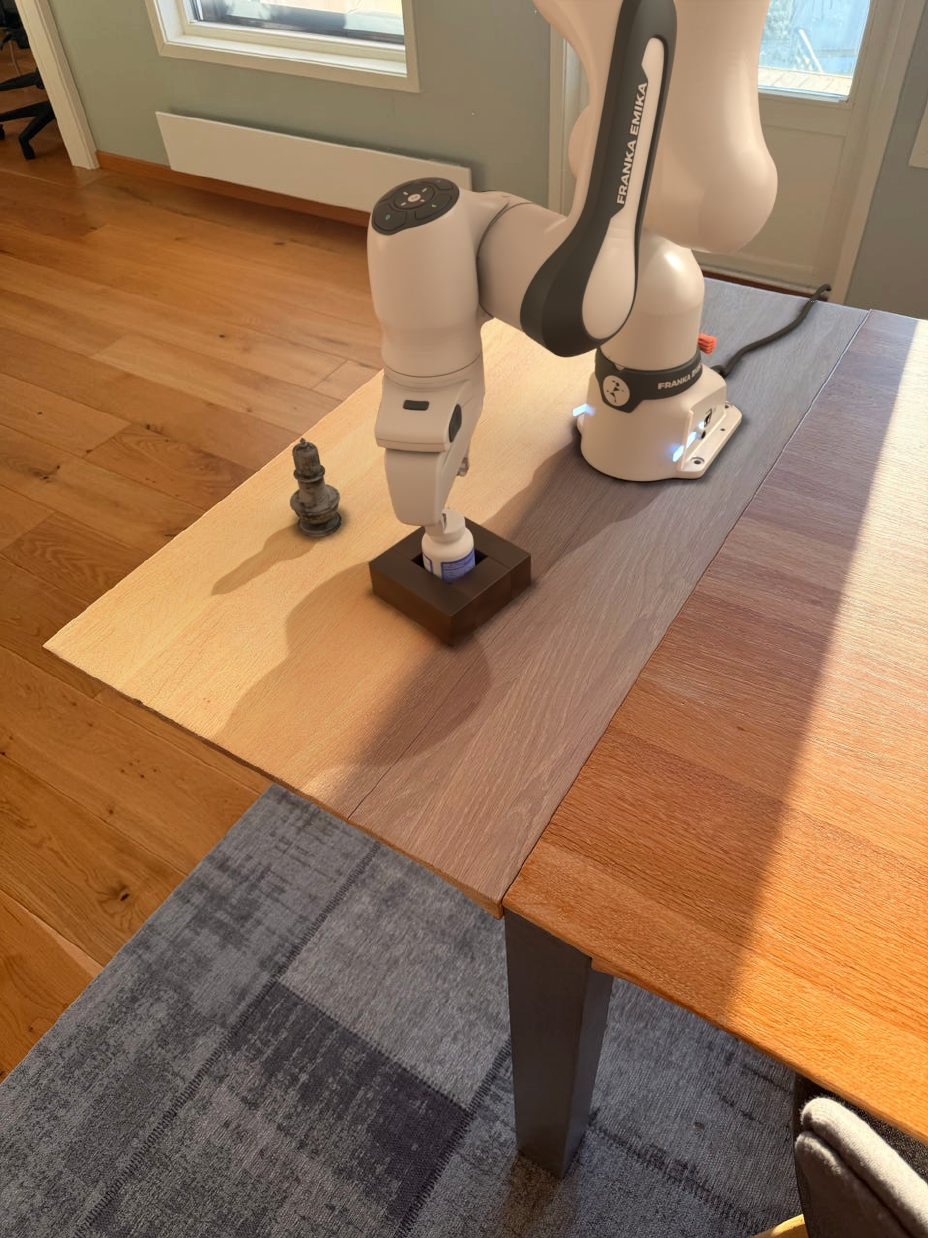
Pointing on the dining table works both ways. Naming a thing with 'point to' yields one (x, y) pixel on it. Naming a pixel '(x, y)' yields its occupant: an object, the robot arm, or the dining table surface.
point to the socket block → (463, 601)
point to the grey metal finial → (313, 494)
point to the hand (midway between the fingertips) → (448, 500)
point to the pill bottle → (449, 549)
